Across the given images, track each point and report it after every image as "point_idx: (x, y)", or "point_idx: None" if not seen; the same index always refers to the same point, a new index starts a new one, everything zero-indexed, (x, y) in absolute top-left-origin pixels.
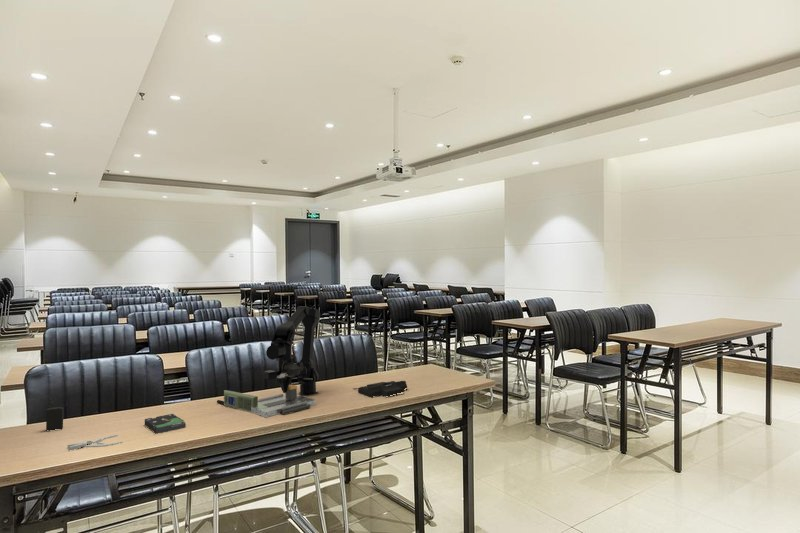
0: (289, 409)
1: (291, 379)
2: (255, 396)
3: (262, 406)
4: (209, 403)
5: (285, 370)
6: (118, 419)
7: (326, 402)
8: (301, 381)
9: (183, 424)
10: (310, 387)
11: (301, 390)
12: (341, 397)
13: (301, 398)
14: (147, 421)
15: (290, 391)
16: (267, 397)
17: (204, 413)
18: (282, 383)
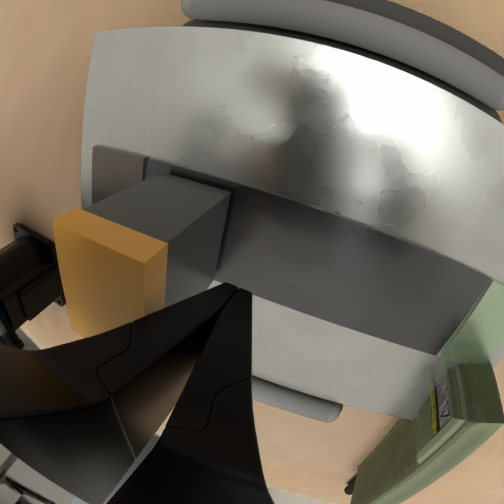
0: (452, 35)
1: (17, 350)
2: (478, 431)
3: (488, 321)
4: None
5: None
6: (495, 498)
7: (66, 33)
8: (14, 324)
9: None
10: (10, 257)
11: (49, 293)
12: (2, 67)
13: (123, 156)
14: None
15: (179, 236)
16: (274, 402)
17: (479, 456)
18: (250, 436)
